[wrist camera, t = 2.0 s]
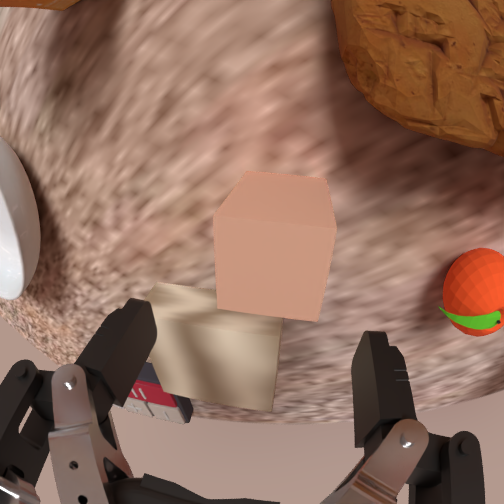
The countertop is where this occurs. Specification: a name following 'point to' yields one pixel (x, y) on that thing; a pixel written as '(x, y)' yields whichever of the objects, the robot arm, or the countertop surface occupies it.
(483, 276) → the clementine
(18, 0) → the small box
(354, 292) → the countertop surface
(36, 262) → the serving bowl
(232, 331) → the birch block
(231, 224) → the terracotta block
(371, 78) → the clay tablet
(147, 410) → the grey and red box
